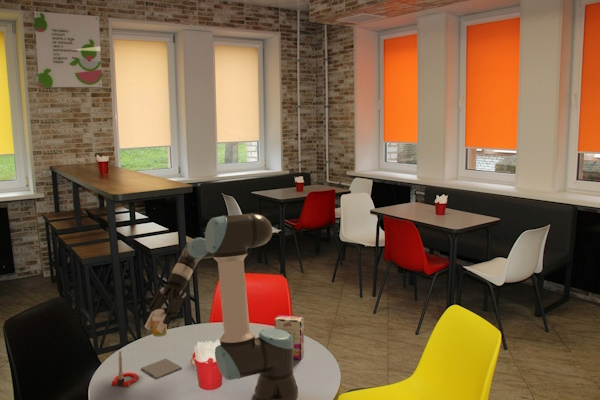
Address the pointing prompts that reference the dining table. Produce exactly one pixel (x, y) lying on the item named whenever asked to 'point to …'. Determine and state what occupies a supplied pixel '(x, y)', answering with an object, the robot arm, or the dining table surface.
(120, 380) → the tow hook
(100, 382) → the dining table surface
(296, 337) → the candy bar box
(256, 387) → the robot arm
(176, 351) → the dining table surface
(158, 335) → the supplement bottle
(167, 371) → the coaster
